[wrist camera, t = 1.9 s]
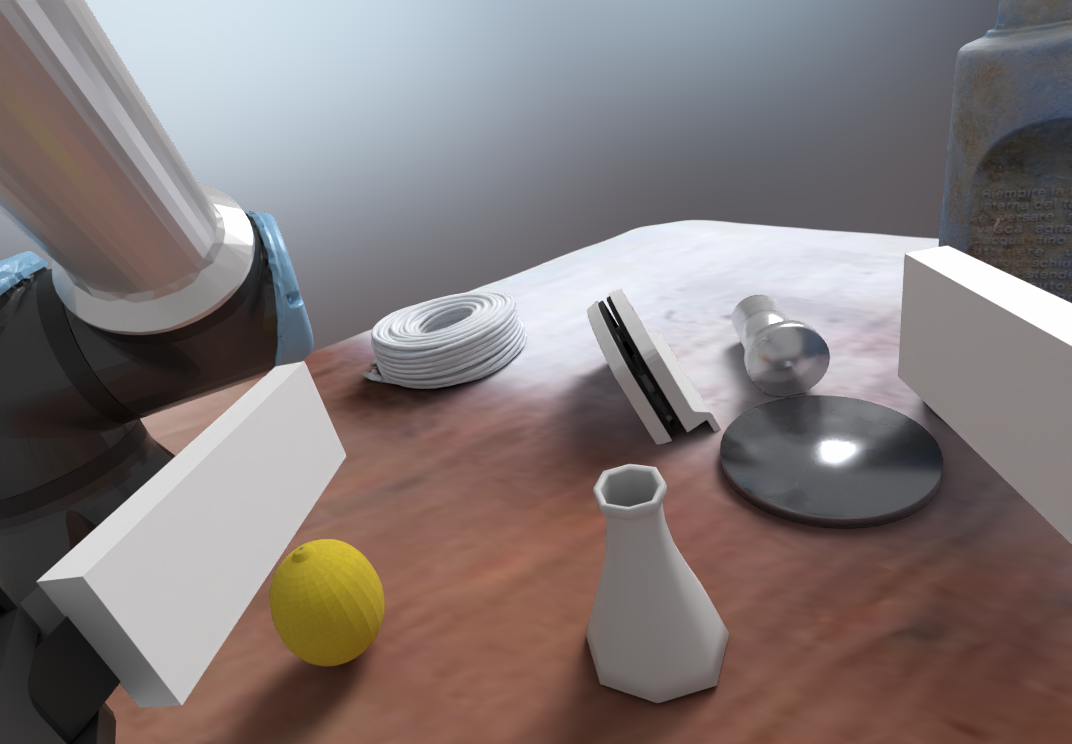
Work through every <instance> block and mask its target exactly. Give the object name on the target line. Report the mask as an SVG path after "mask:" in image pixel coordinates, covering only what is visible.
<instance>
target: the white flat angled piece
mask: <svg viewBox="0 0 1072 744" xmlns="http://www.w3.org/2000/svg"><path fill="white" fill-rule="evenodd" d="M609 295H610V296H609V297H607V302H608V304H609V306H610V308H611V310H612V313H613V315H614V317H615V319H616V321H617V322H618V324H619V326H618V324H617V323H616V321H615V320H614V318H613V316H612V315H611V313H610V311H609V310H608V308H607V307H606V305H605V303H604V302H603V301H601V302H598V301H596V302H595V303H594V304H593V305H592V306H591V307H589V308H588V309H587V314H588V318H589V321H590V324H591V326H592V329H593V332H594V334H595V336H596V338H597V341H598V343H599V345H600V348H601V350H602V352H603V354H604V356H605V358H606V360H607V362H608V365H609V367H610V369H611V371H612V373H613V375H614V376H615V378H616V380H617V382H618V383H619V385H620V386H621V388H622V390H623V391H624V393H625V395H626V396H627V398H628V399H629V401H630V403H631V404H632V406H633V407H634V409H635V411H636V412H637V414H638V415H639V417H640V419H641V420H642V422H643V424H644V425H645V427H646V428H647V430H648V432H649V433H650V435H651V436H652V438H653V440H654V441H655V443H656V445H658V444H665V443H668V442H670V441H672V440H671V437H670V436H671V435H673V434H674V432H673V430H672V428H671V426H670V424H669V422H670V421H671V420H672V419H673V420H674V422H675V424H676V425H677V427H678V429H679V430H682V429H684V428H685V429H686V431H687V433H688V432H689V431H691V430H692V429H694V428H695V427H697V426H698V425H700V424H701V423H702V422H704V421H705V420H708V422H709V424H710V425H711V427H712V429H713V430H714V432H716V431H719V430H721V429H720V427H719V426H718V424H717V422H716V420H715V419H714V417H713V415H712V413H711V412H710V410H709V409H708V407H707V406H706V404H705V402H704V401H703V399H702V398H701V396H700V395H699V393H698V392H697V390H696V388H695V387H694V385H693V384H692V382H691V381H690V379H689V378H688V376H687V374H686V373H685V371H684V370H683V368H682V367H681V365H680V364H679V362H678V360H677V359H676V357H675V356H674V354H673V353H672V351H671V350H670V348H669V346H668V345H667V343H666V342H665V340H664V339H663V337H662V335H661V334H660V333H658V332H651V331H646V330H645V328H644V326H643V325H642V323H641V321H640V319H639V318H638V316H637V314H636V312H635V311H634V309H633V307H632V306H631V304H630V303H629V301H628V299H627V298H626V296H625V294H624V293H623V291H622V289H619V290H616V291H614V292H611V293H609ZM634 355H635V356H634ZM632 356H633V357H632ZM655 391H656V393H654V394H651V393H653V392H655Z"/></svg>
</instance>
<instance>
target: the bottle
mask: <svg viewBox="0 0 1072 744" xmlns="http://www.w3.org/2000/svg"><path fill="white" fill-rule="evenodd" d="M946 156H947V166H946V175H945V185H944V199H943V204H942V220H941V228H940V236H939V247H943V246H950V247H952V248H954V249H956V250H958V251H960V252H962V253H965V254H967V255H969V256H971V257H973V258H975V259H978V260H980V261H982V262H984V263H986V264H988V265H990V266H993V267H995V268H997V269H999V270H1001V271H1003V272H1005V273H1008V274H1010V275H1012V276H1014V277H1016V278H1018V279H1020V280H1023V281H1025V282H1027V283H1029V284H1031V285H1033V286H1035V287H1038V288H1040V289H1042V290H1044V291H1046V292H1048V293H1050V294H1053V295H1055V296H1057V297H1059V298H1061V299H1063V300H1066V301H1068V302H1070V303H1072V0H1000V3H999V11H998V19H997V23H996V27H995V29H992V30H989V31H987V33H986V35H985V36H984V37H982V38H980V39H978V40H975V41H973V42H971V43H968V44H966V45H964V46H963V47H962V48H961V49H960V50H959V52H958V56H957V60H956V66H955V81H954V88H953V106H952V112H951V123H950V133H949V139H948V150H947V154H946ZM931 409H932V408H931ZM932 411H933V412H935V411H934V410H933V409H932ZM935 413H936V412H935ZM936 414H937V413H936ZM937 415H938V414H937ZM938 416H939V415H938ZM939 417H940V416H939Z"/></svg>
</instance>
